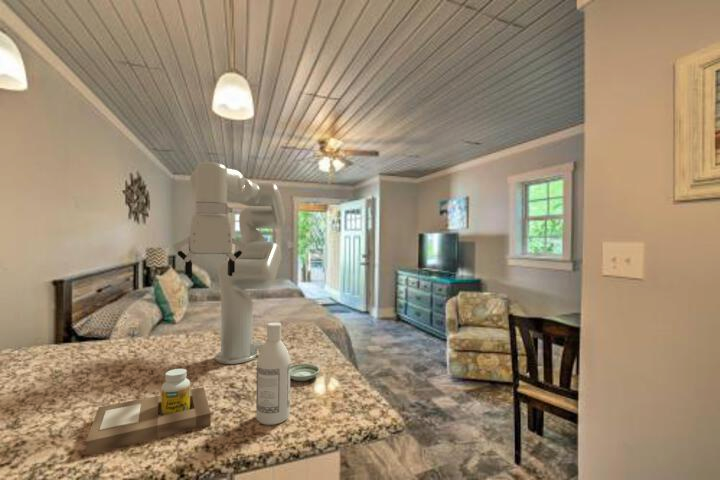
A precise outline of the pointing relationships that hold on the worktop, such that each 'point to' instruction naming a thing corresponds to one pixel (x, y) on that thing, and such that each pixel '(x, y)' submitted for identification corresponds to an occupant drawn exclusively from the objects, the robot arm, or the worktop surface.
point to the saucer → (303, 371)
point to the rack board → (144, 422)
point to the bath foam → (273, 379)
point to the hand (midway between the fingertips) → (210, 276)
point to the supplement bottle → (175, 392)
